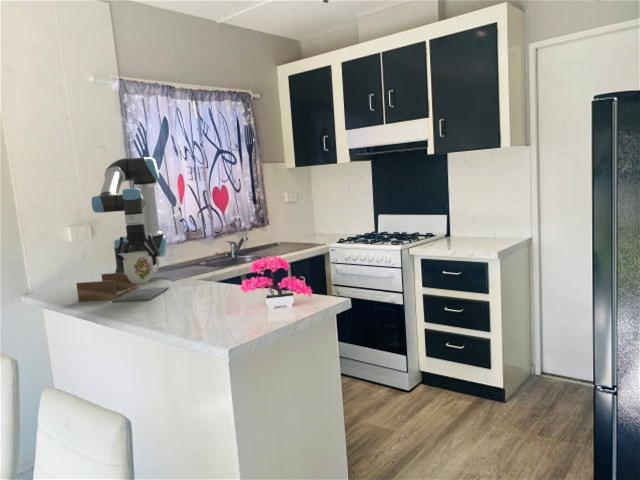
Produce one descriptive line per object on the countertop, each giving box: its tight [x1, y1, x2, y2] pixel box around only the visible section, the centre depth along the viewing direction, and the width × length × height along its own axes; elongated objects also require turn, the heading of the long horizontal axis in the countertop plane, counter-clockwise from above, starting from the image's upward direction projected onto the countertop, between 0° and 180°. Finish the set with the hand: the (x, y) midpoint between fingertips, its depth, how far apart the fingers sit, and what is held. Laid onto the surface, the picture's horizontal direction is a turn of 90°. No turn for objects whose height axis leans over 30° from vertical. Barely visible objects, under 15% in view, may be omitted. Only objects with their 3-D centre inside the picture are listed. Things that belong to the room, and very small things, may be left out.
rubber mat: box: [111, 286, 170, 304], centre depth 215 cm, size 24×16×1 cm, turn 178°
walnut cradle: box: [76, 272, 139, 302], centre depth 222 cm, size 24×16×8 cm
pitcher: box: [119, 251, 161, 285], centre depth 213 cm, size 11×18×14 cm, turn 137°
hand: (140, 273), depth 214 cm, fingers closed on pitcher, 11 cm apart
